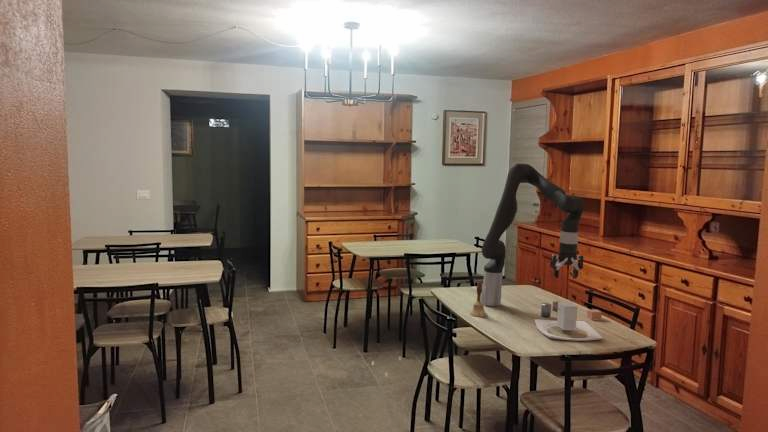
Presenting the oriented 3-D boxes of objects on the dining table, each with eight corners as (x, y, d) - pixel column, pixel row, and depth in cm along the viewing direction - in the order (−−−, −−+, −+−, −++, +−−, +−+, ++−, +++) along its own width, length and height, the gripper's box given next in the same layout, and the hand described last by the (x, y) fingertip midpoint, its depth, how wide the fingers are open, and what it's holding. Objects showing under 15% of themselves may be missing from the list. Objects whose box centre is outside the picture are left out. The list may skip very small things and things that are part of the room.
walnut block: (558, 313, 254) (559, 304, 253) (552, 310, 258) (553, 301, 257) (565, 312, 255) (566, 303, 255) (559, 309, 259) (559, 301, 259)
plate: (531, 324, 237) (531, 318, 237) (584, 326, 236) (585, 320, 236) (546, 342, 213) (546, 336, 212) (606, 344, 212) (606, 338, 212)
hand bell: (466, 312, 249) (467, 280, 248) (481, 311, 252) (482, 279, 251) (474, 317, 242) (476, 284, 240) (490, 316, 245) (492, 283, 243)
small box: (575, 330, 221) (577, 306, 220) (562, 330, 221) (564, 306, 220) (569, 324, 229) (570, 301, 228) (556, 324, 229) (558, 301, 228)
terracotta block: (591, 320, 243) (592, 312, 243) (586, 317, 247) (587, 309, 247) (601, 320, 244) (601, 311, 243) (596, 317, 248) (597, 309, 247)
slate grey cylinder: (543, 317, 244) (544, 305, 244) (539, 315, 249) (540, 303, 248) (552, 317, 245) (553, 305, 245) (547, 315, 249) (548, 302, 249)
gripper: (557, 243, 220) (554, 280, 222) (588, 243, 222) (585, 280, 224) (549, 240, 228) (546, 276, 230) (579, 240, 230) (576, 276, 232)
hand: (565, 278), depth 227 cm, fingers open, 8 cm apart
